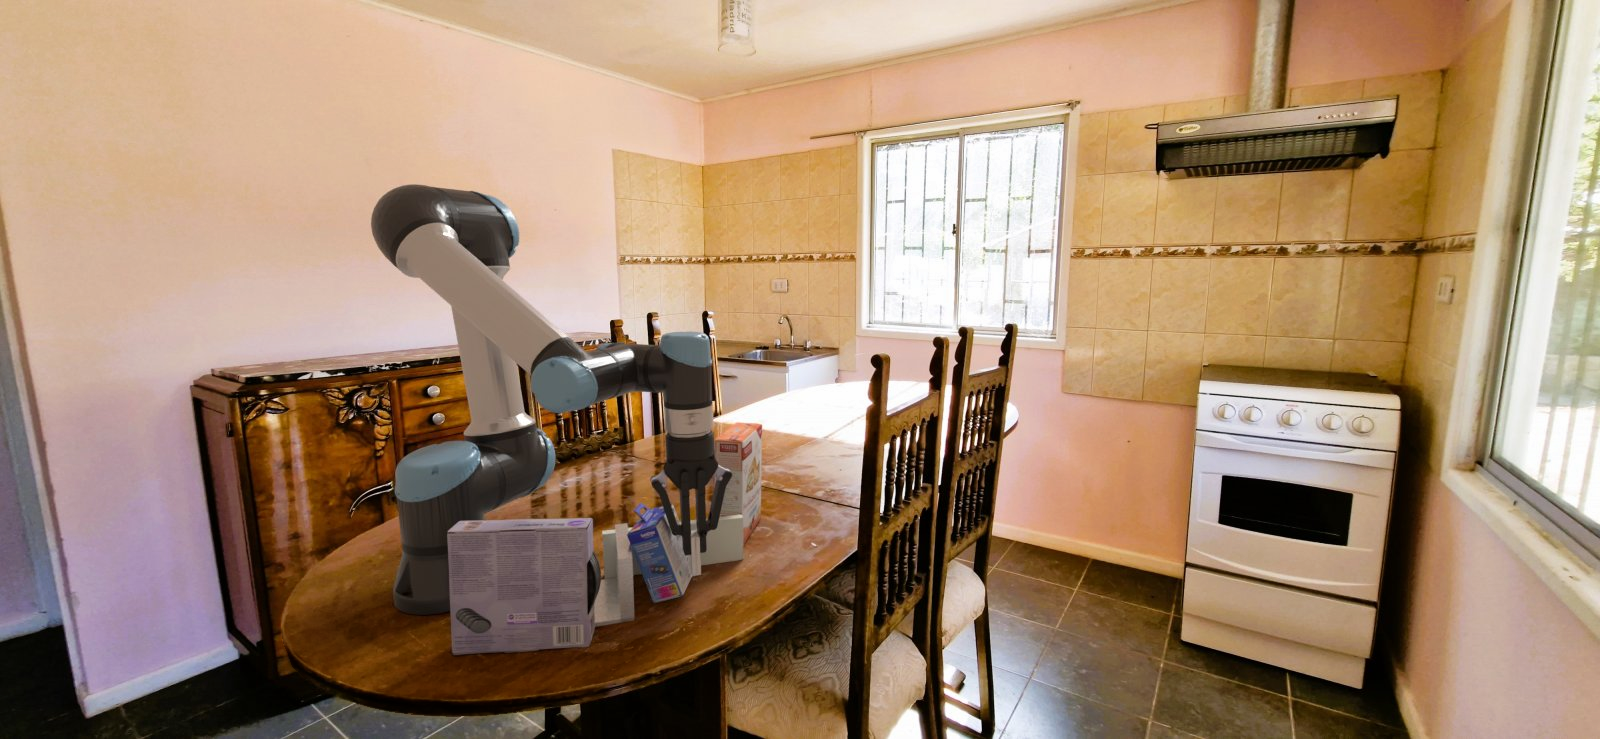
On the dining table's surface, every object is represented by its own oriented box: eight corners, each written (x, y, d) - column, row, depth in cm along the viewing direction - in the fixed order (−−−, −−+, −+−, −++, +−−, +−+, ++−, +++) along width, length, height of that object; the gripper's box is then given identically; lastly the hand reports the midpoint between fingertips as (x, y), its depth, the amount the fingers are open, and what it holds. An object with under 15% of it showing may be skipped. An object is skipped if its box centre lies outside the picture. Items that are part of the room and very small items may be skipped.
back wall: (604, 579, 105) (602, 534, 104) (604, 575, 107) (602, 530, 106) (743, 559, 113) (743, 517, 112) (741, 555, 114) (741, 514, 113)
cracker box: (744, 549, 117) (743, 441, 114) (713, 545, 118) (712, 439, 115) (763, 519, 131) (763, 422, 127) (735, 517, 132) (734, 420, 129)
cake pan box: (604, 627, 92) (598, 513, 89) (597, 648, 87) (592, 527, 84) (465, 636, 89) (455, 519, 86) (450, 658, 84) (439, 534, 81)
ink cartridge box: (667, 575, 107) (640, 497, 105) (697, 567, 107) (670, 488, 105) (650, 605, 97) (620, 519, 96) (683, 596, 97) (653, 510, 95)
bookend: (577, 629, 91) (574, 565, 89) (579, 586, 103) (576, 529, 101) (634, 620, 93) (632, 557, 92) (629, 579, 106) (627, 523, 104)
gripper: (649, 441, 92) (657, 589, 96) (735, 433, 96) (739, 575, 100) (645, 429, 99) (653, 567, 103) (725, 421, 103) (729, 555, 107)
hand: (695, 571), depth 102 cm, fingers closed
